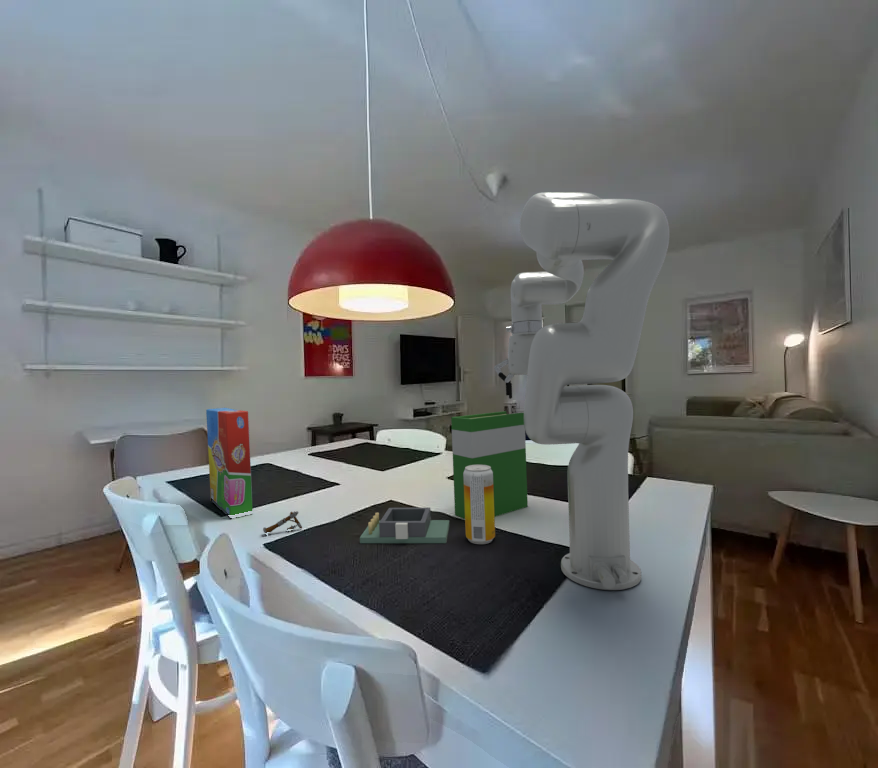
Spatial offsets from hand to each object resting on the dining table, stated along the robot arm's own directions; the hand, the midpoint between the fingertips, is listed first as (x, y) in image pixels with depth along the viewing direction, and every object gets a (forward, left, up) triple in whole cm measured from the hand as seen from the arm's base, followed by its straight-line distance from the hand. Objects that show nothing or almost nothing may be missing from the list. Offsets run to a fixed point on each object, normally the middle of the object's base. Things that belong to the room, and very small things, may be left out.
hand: (529, 397), depth 105 cm
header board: (-18, +30, -28) cm, 44 cm away
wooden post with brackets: (-17, +58, -28) cm, 67 cm away
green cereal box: (-3, +11, -28) cm, 30 cm away
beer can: (-21, +14, -28) cm, 37 cm away
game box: (0, +82, -28) cm, 86 cm away
